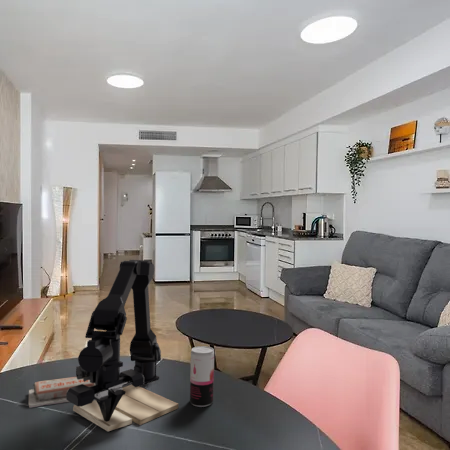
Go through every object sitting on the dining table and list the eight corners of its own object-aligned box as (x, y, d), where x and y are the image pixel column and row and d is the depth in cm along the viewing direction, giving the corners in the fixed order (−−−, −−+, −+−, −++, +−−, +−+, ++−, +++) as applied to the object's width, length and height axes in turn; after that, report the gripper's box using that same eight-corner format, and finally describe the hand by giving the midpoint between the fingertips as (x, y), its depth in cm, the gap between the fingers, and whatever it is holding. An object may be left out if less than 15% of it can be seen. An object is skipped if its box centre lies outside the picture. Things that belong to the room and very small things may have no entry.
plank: (96, 404, 116) (96, 399, 116) (131, 423, 106) (132, 418, 106) (72, 410, 111) (73, 405, 111) (107, 431, 100) (108, 426, 101)
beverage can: (217, 403, 118) (218, 350, 118) (198, 409, 114) (199, 354, 114) (204, 395, 124) (205, 344, 123) (185, 401, 120) (186, 348, 119)
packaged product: (93, 370, 130) (98, 382, 121) (92, 386, 130) (97, 399, 121) (28, 378, 122) (28, 391, 113) (28, 395, 122) (28, 409, 113)
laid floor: (133, 387, 128) (133, 383, 128) (178, 408, 115) (178, 403, 115) (95, 401, 118) (95, 396, 118) (140, 425, 105) (140, 420, 105)
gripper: (120, 343, 116) (119, 399, 116) (55, 359, 102) (54, 423, 102) (146, 352, 109) (144, 412, 109) (79, 370, 94) (78, 439, 95)
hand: (106, 420), depth 104 cm, fingers closed, pressing on plank
